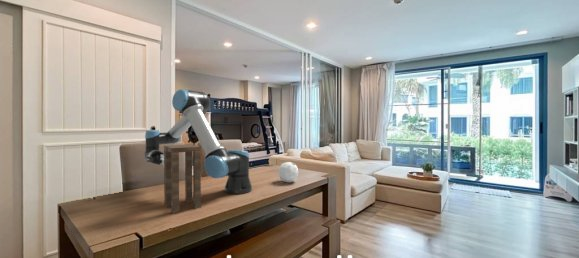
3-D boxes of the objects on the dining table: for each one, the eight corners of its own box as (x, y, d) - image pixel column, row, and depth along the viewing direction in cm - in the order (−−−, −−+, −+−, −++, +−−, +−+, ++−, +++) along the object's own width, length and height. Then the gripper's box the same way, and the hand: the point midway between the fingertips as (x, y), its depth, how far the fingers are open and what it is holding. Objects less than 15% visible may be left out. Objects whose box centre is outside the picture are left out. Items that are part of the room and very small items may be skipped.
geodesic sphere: (306, 172, 167) (294, 155, 169) (301, 176, 154) (288, 158, 156) (289, 183, 170) (278, 167, 172) (283, 188, 157) (271, 170, 159)
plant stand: (164, 205, 116) (163, 145, 115) (190, 200, 124) (190, 144, 123) (173, 213, 106) (172, 148, 105) (200, 207, 114) (200, 146, 113)
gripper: (171, 161, 154) (184, 167, 136) (141, 164, 143) (151, 171, 126) (170, 149, 154) (184, 153, 136) (141, 151, 143) (151, 156, 125)
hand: (168, 162), depth 131 cm, fingers closed on shelf bracket, 3 cm apart
